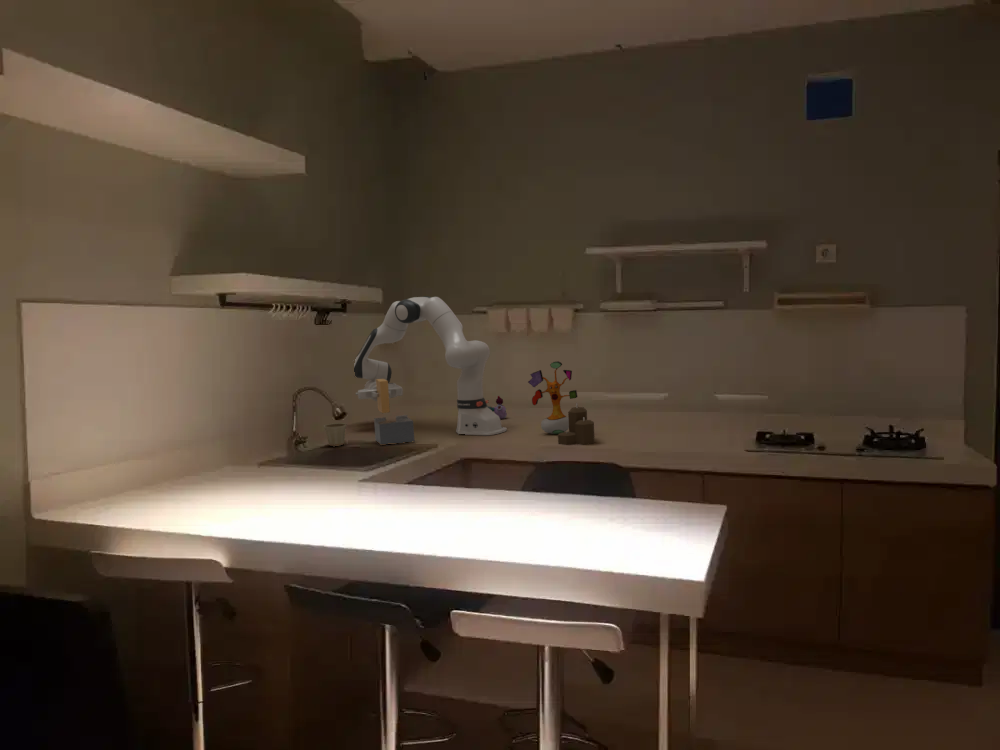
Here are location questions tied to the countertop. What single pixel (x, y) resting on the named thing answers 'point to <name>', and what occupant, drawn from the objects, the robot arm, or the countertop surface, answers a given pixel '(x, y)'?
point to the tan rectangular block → (383, 395)
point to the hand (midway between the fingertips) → (383, 394)
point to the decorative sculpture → (553, 400)
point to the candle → (578, 428)
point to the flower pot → (335, 433)
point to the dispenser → (394, 430)
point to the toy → (499, 408)
